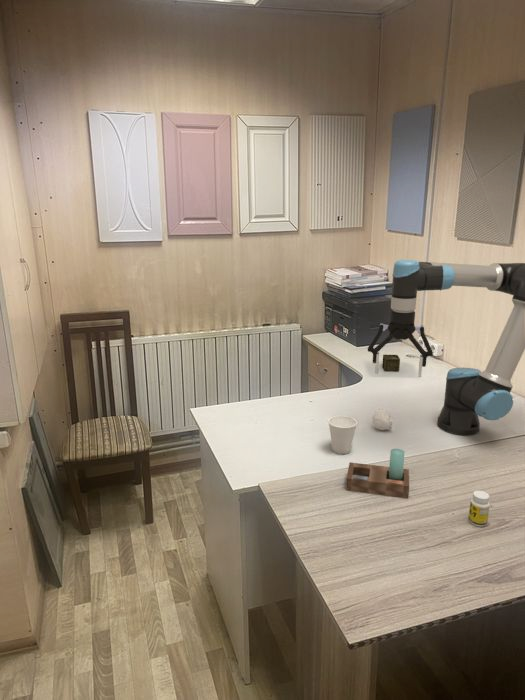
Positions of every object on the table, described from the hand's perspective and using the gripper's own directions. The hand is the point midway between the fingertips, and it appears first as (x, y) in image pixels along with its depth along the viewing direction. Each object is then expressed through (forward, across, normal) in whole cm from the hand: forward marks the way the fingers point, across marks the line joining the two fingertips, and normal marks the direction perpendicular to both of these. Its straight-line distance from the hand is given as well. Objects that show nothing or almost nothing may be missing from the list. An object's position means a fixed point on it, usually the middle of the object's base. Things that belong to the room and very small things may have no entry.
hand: (398, 374), depth 168 cm
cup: (+29, +17, +2) cm, 34 cm away
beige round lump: (+29, +4, -19) cm, 35 cm away
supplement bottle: (+29, -23, +34) cm, 50 cm away
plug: (+29, -1, +22) cm, 36 cm away
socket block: (+29, +4, +22) cm, 36 cm away
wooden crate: (+30, +2, -92) cm, 97 cm away
